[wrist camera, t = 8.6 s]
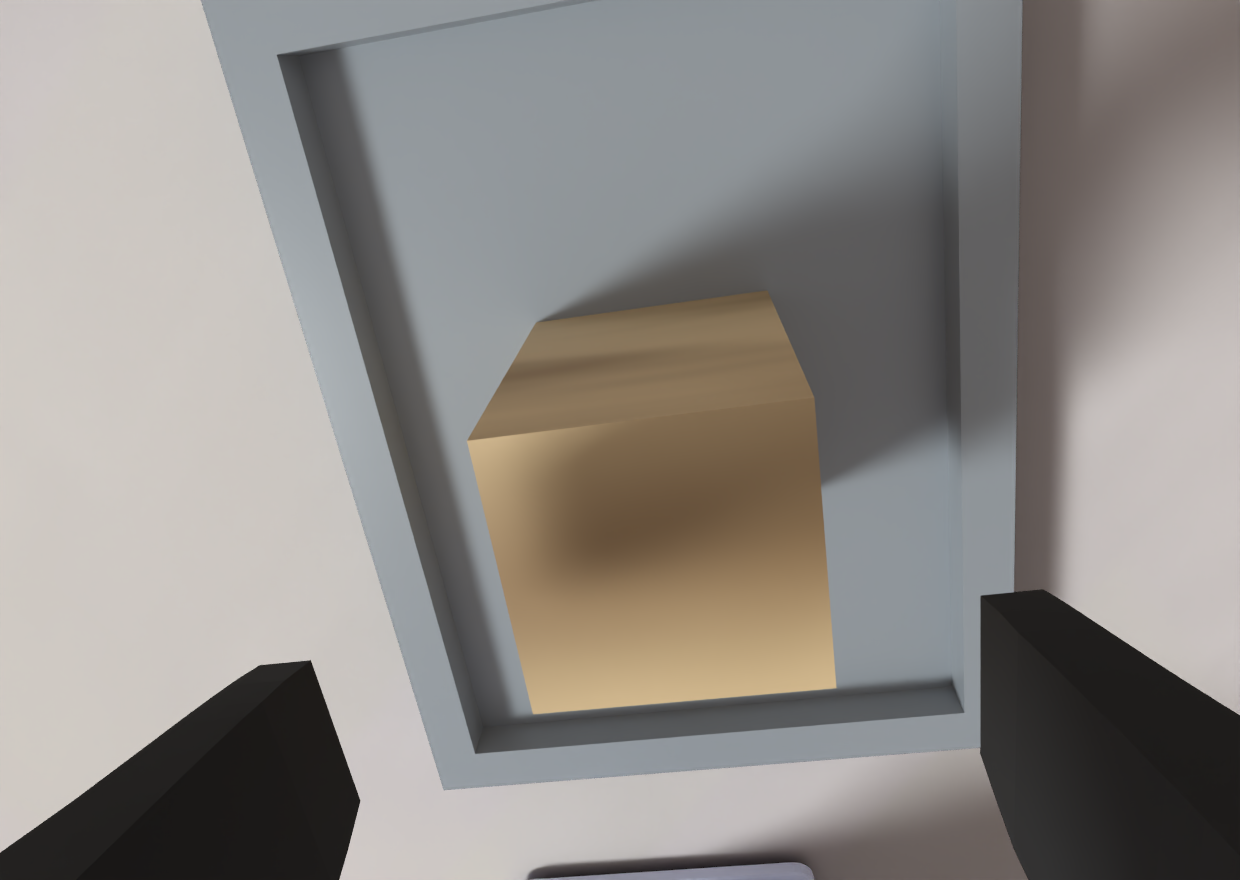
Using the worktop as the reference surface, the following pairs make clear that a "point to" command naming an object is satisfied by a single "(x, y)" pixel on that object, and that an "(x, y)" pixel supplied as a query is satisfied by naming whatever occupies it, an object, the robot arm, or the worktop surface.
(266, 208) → the slate tray
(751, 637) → the oak block
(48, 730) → the worktop surface
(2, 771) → the worktop surface
